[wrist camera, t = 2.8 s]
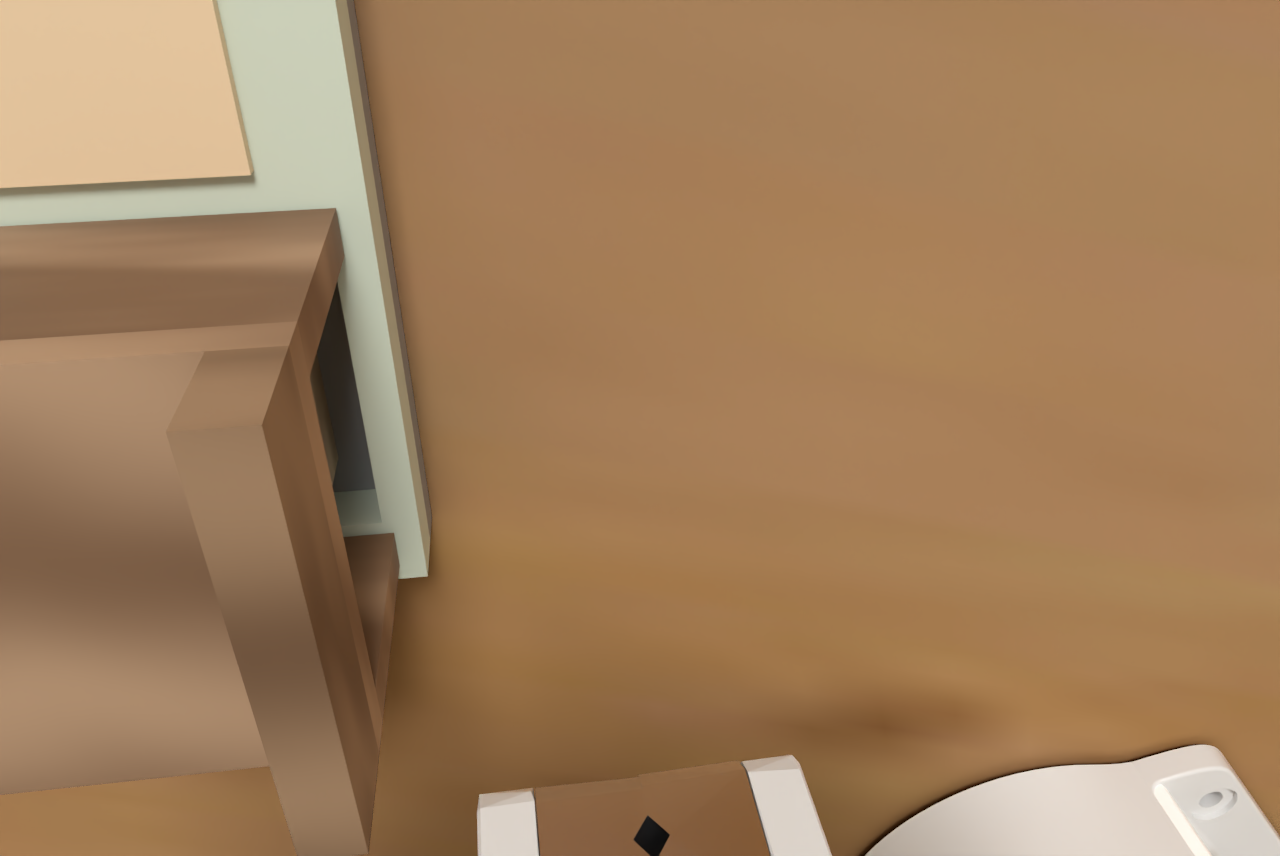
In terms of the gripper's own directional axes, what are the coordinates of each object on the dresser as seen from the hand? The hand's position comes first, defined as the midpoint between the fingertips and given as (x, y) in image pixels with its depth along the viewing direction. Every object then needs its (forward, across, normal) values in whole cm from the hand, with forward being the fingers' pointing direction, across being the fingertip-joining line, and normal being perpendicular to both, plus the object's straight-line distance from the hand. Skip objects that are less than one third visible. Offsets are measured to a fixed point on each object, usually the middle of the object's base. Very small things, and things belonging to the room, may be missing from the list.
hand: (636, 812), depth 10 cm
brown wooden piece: (+14, +7, +3) cm, 16 cm away
